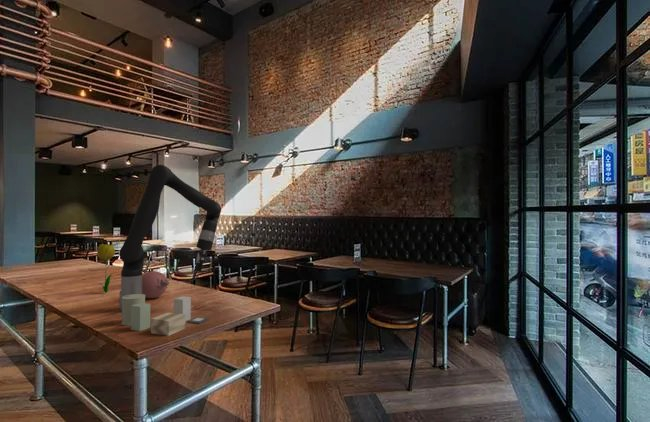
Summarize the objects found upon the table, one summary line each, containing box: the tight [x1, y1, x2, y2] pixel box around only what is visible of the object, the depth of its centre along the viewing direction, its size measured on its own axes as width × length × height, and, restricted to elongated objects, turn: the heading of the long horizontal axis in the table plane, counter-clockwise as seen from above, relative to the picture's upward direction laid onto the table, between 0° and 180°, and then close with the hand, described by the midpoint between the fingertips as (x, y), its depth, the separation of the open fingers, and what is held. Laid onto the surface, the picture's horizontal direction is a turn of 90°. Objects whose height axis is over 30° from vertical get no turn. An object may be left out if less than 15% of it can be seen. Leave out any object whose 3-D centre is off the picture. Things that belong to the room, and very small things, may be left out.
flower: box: [96, 243, 116, 294], centre depth 201 cm, size 9×8×30 cm
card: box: [186, 316, 210, 325], centre depth 149 cm, size 7×6×1 cm
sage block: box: [130, 302, 151, 332], centre depth 139 cm, size 5×5×10 cm
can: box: [120, 294, 146, 327], centre depth 147 cm, size 9×9×12 cm
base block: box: [150, 312, 186, 337], centre depth 137 cm, size 9×9×6 cm
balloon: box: [142, 270, 170, 300], centre depth 189 cm, size 15×20×15 cm
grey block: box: [173, 295, 192, 322], centre depth 151 cm, size 5×5×10 cm
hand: (197, 271), depth 167 cm, fingers open, 8 cm apart
